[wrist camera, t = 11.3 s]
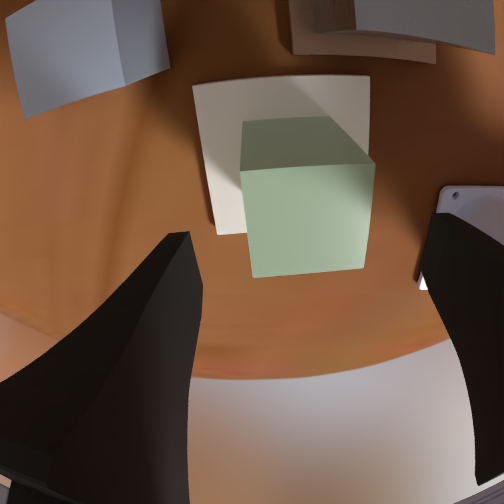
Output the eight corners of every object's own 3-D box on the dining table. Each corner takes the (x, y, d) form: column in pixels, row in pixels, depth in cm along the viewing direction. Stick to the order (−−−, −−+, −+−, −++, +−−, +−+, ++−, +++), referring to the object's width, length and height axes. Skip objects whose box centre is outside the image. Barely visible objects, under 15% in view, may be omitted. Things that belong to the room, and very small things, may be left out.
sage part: (329, 116, 14) (375, 163, 9) (329, 192, 16) (363, 267, 11) (242, 121, 14) (239, 171, 9) (251, 198, 16) (252, 277, 11)
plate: (365, 75, 13) (369, 76, 12) (359, 217, 18) (362, 223, 17) (194, 84, 13) (192, 86, 13) (218, 229, 18) (217, 235, 17)
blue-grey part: (159, -9, 10) (107, -32, 5) (170, 68, 13) (125, 86, 8) (82, 16, 10) (5, 18, 6) (94, 87, 13) (24, 120, 8)
